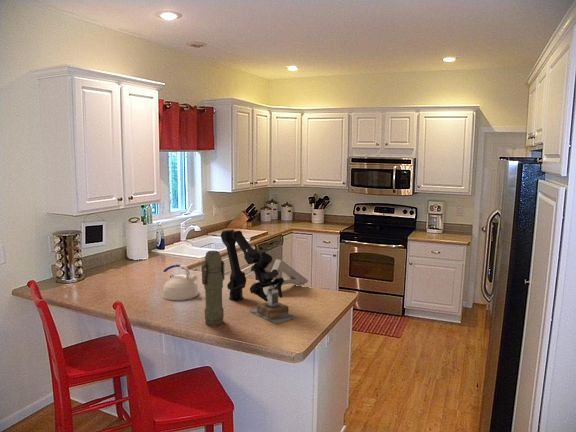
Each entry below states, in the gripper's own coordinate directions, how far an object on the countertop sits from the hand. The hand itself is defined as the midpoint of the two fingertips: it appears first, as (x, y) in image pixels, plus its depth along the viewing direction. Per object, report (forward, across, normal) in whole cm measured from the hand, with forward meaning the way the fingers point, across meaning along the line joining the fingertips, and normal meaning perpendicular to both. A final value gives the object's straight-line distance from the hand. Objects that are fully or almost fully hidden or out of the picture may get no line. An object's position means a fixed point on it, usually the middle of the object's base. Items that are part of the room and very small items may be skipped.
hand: (274, 299), depth 226 cm
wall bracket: (-16, +33, +29) cm, 47 cm away
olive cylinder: (-2, -28, +14) cm, 31 cm away
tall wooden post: (+4, 0, +6) cm, 8 cm away
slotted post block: (+5, 0, +7) cm, 9 cm away
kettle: (-37, -20, +50) cm, 65 cm away
